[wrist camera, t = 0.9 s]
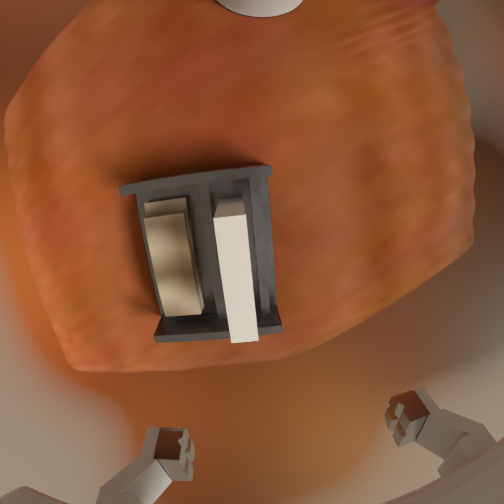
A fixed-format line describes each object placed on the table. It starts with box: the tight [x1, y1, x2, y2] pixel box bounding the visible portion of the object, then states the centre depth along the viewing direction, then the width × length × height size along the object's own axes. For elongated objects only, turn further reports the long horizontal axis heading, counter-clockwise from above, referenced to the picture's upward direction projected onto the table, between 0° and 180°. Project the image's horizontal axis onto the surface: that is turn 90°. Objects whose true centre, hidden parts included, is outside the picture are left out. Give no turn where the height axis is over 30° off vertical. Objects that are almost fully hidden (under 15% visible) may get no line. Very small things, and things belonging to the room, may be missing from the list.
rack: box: [119, 164, 282, 343], centre depth 38 cm, size 22×18×7 cm
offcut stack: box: [144, 196, 205, 317], centre depth 37 cm, size 16×6×4 cm, turn 5°
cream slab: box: [213, 197, 258, 343], centre depth 34 cm, size 14×3×12 cm, turn 5°
